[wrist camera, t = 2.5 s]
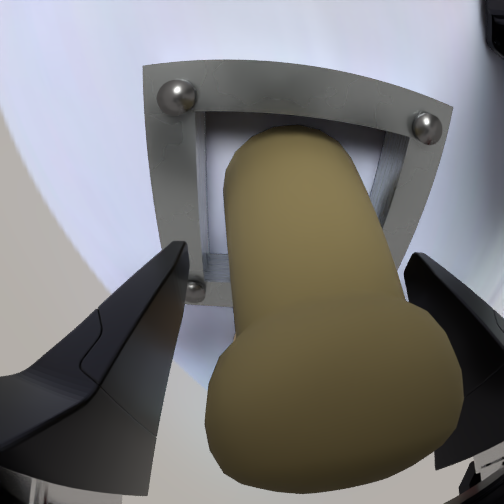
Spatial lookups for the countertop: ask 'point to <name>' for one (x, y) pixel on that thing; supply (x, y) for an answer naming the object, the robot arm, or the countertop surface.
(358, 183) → the pepper shaker
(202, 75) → the grey square frame
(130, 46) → the countertop surface
